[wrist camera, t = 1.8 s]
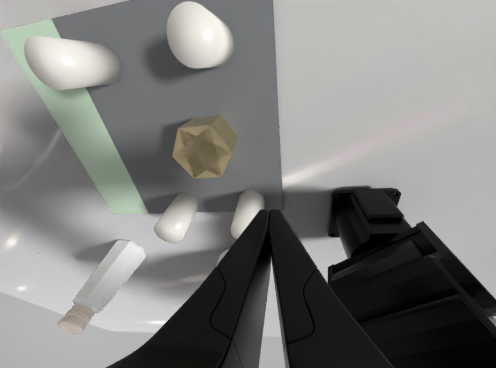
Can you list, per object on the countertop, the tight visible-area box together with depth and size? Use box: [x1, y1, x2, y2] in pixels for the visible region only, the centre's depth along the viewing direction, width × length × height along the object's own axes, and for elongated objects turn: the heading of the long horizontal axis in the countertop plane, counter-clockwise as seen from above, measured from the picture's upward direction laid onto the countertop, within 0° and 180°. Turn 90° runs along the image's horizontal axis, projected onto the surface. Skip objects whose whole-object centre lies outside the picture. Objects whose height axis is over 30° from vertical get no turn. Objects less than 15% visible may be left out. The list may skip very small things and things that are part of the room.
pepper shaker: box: [58, 240, 146, 334], centre depth 27 cm, size 5×5×11 cm
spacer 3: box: [167, 1, 235, 69], centre depth 13 cm, size 3×3×5 cm
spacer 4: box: [230, 190, 265, 240], centre depth 20 cm, size 3×3×5 cm
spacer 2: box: [154, 192, 199, 243], centre depth 22 cm, size 3×3×5 cm
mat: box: [0, 0, 283, 214], centre depth 20 cm, size 20×23×1 cm
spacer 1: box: [24, 36, 122, 90], centre depth 15 cm, size 3×3×5 cm
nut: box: [172, 115, 239, 179], centre depth 18 cm, size 5×5×4 cm
